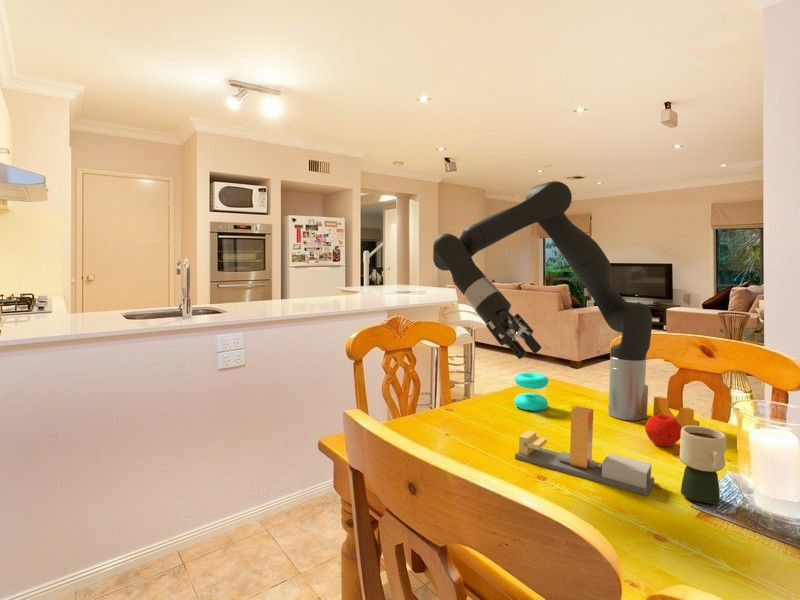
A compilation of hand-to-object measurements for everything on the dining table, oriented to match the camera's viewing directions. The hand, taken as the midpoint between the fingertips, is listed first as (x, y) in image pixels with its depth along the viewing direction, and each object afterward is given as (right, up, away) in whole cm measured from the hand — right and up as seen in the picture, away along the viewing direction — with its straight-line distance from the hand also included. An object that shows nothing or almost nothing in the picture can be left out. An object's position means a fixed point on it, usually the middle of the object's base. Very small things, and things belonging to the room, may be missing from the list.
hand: (531, 353), depth 103 cm
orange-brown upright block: (+12, -23, -8) cm, 27 cm away
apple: (+34, -23, +8) cm, 42 cm away
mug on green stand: (+27, -26, -17) cm, 41 cm away
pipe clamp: (+46, -23, +21) cm, 55 cm away
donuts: (+11, -21, +37) cm, 44 cm away
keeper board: (+9, -24, -5) cm, 27 cm away
